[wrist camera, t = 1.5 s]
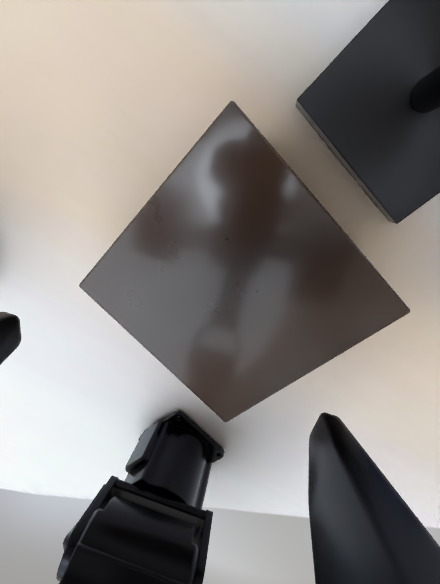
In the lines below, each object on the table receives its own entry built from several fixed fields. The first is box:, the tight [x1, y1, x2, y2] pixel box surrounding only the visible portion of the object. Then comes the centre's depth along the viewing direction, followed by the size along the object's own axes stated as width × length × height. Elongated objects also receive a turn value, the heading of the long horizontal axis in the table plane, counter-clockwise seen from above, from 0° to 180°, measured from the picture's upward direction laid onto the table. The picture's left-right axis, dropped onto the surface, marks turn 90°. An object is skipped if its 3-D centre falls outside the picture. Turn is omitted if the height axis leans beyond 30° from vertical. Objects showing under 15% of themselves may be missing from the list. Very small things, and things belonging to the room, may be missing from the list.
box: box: [79, 101, 410, 422], centre depth 16 cm, size 10×10×8 cm
